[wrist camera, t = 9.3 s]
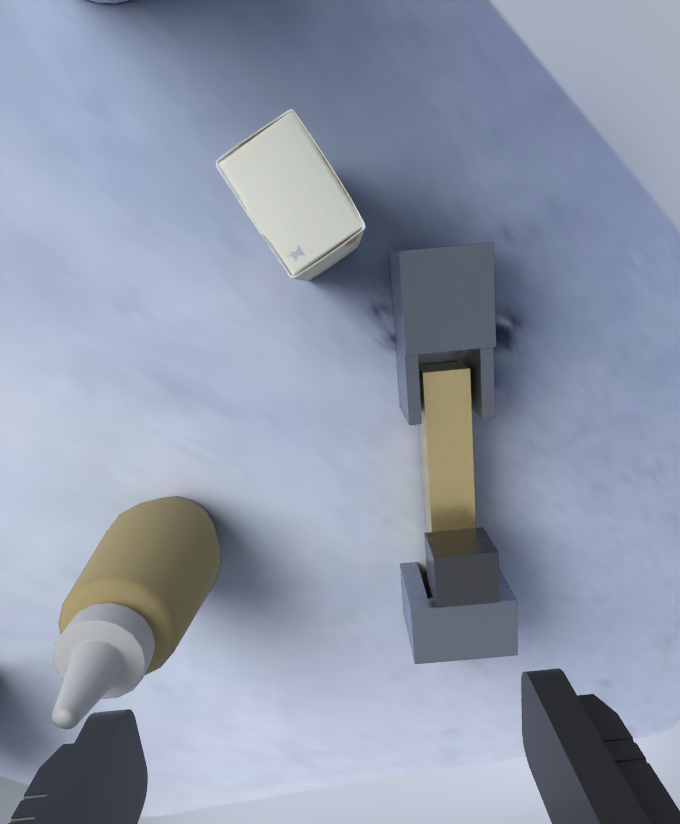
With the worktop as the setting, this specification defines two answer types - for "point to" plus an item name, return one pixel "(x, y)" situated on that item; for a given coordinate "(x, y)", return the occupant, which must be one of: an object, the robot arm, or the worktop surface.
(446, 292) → the sleeve
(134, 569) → the squeeze bottle
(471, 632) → the socket
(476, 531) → the yellow bar
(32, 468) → the worktop surface
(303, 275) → the skincare box
